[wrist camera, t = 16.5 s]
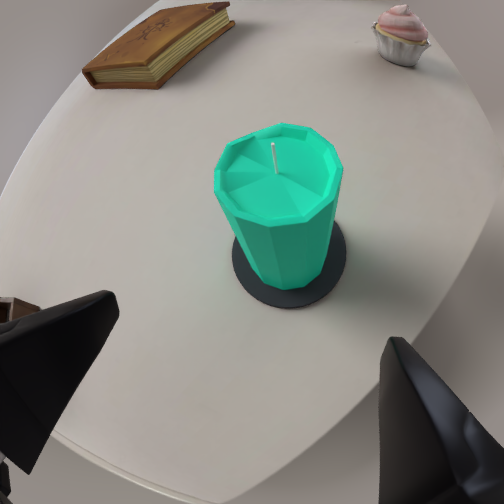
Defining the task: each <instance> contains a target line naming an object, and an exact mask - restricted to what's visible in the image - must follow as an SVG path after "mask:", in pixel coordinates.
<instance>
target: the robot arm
mask: <svg viewBox="0 0 504 504" xmlns="http://www.w3.org/2000/svg"><path fill="white" fill-rule="evenodd" d="M118 318H119V308H118V304H117V300H116V296H115V294H114V293H113V292H111V291H107V290H102V291H99V292H96V293H93V294H89V295H86V296H83V297H80V298H77V299H74V300H71V301H68V302H65V303H62V304H59V305H56V306H53V307H50V308H47V309H44V310H41V311H38V312H35V313H32V314H29V315H26V316H23V317H20V318H17V319H14V320H11V321H8V322H5V323H2V324H0V504H13V503H11V501H10V500H9V499H8V498H7V497H8V495H9V494H10V492H11V487H10V479H9V469H8V466H7V464H6V463H4V461H3V460H4V459H5V457H7V458H8V459H10V460H11V461H12V462H13V463H14V464H15V465H17V466H18V467H19V468H20V469H22V470H23V471H24V472H25V473H27V474H28V475H29V474H30V473H31V471H32V469H33V467H34V465H35V463H36V461H37V459H38V457H39V455H40V453H41V451H42V449H43V447H44V445H45V444H46V442H47V440H48V438H49V436H50V434H51V432H52V430H53V429H54V427H55V425H56V423H57V421H58V420H59V418H60V416H61V414H62V413H63V411H64V409H65V407H66V406H67V404H68V402H69V401H70V399H71V397H72V396H73V394H74V392H75V391H76V389H77V387H78V386H79V384H80V382H81V381H82V379H83V378H84V376H85V374H86V373H87V371H88V370H89V368H90V367H91V365H92V363H93V362H94V360H95V359H96V357H97V356H98V354H99V353H100V351H101V349H102V347H103V346H104V344H105V342H106V340H107V338H108V336H109V334H110V332H111V331H112V329H113V327H114V325H115V323H116V321H117V320H118ZM378 408H379V431H380V432H379V433H380V483H379V504H504V448H503V447H502V446H501V445H500V444H499V443H498V442H497V441H496V440H495V439H494V438H493V437H492V436H491V435H490V434H489V433H488V432H487V431H486V430H485V428H484V427H483V426H482V425H481V424H480V422H479V421H478V420H477V419H476V418H475V417H474V415H473V414H472V413H471V412H469V410H468V409H467V407H466V406H465V405H464V404H463V403H462V402H461V400H460V399H459V398H458V397H457V396H456V395H455V394H454V392H453V391H452V390H451V389H450V388H449V387H448V386H447V385H446V383H445V382H444V381H443V380H442V379H441V378H440V377H439V376H438V375H437V373H436V372H435V371H434V370H433V369H432V368H431V367H430V366H429V365H428V364H427V362H426V361H425V360H424V359H423V358H422V357H421V356H420V355H419V354H418V353H417V352H416V351H415V350H414V349H413V347H412V346H411V345H410V344H409V343H408V342H407V341H406V340H405V339H404V338H402V337H390V338H389V339H388V341H387V344H386V346H385V349H384V351H383V354H382V356H381V360H380V384H379V407H378Z"/></svg>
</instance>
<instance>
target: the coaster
mask: <svg viewBox="0 0 504 504" xmlns="http://www.w3.org/2000/svg"><path fill="white" fill-rule="evenodd" d="M345 261H346V245H345V241H344V237H343V235H342V232H341V230H340V228H339V227H338V225H337V224H336V222H335V221H334V222H333V227H332V232H331V237H330V242H329V246H328V251H327V255H326V258H325V261H324V264H323V267H322V270H321V273H320V274H319V275H318V276H317V277H316V278H314V279H313V280H312V281H311V282H310V283H308V284H307V285H306V286H305V287H300V288H294V289H288V290H281V289H279V288H276V287H273V286H270V285H268V284H265V283H264V282H263V281H262V280H261V279H260V277H259V276H258V275H257V274H256V272H255V271H254V270H253V269H252V267H251V265H250V263H249V261H248V259H247V257H246V255H245V253H244V251H243V249H242V247H241V245H240V243H239V241H238V239H237V237H235V240H234V243H233V248H232V262H233V267H234V271H235V273H236V276H237V278H238V280H239V281H240V283H241V284H242V286H243V287H244V288H245V290H246V291H247V292H248V293H249V294H250V295H252V296H253V297H254V298H256V299H257V300H259V301H261V302H263V303H265V304H267V305H270V306H274V307H278V308H298V307H303V306H307V305H310V304H312V303H314V302H316V301H318V300H320V299H321V298H323V297H324V296H325V295H327V294H328V293H329V292H330V291H331V290H332V289H333V288H334V287H335V285H336V284H337V282H338V281H339V279H340V277H341V275H342V272H343V269H344V266H345Z"/></svg>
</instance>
